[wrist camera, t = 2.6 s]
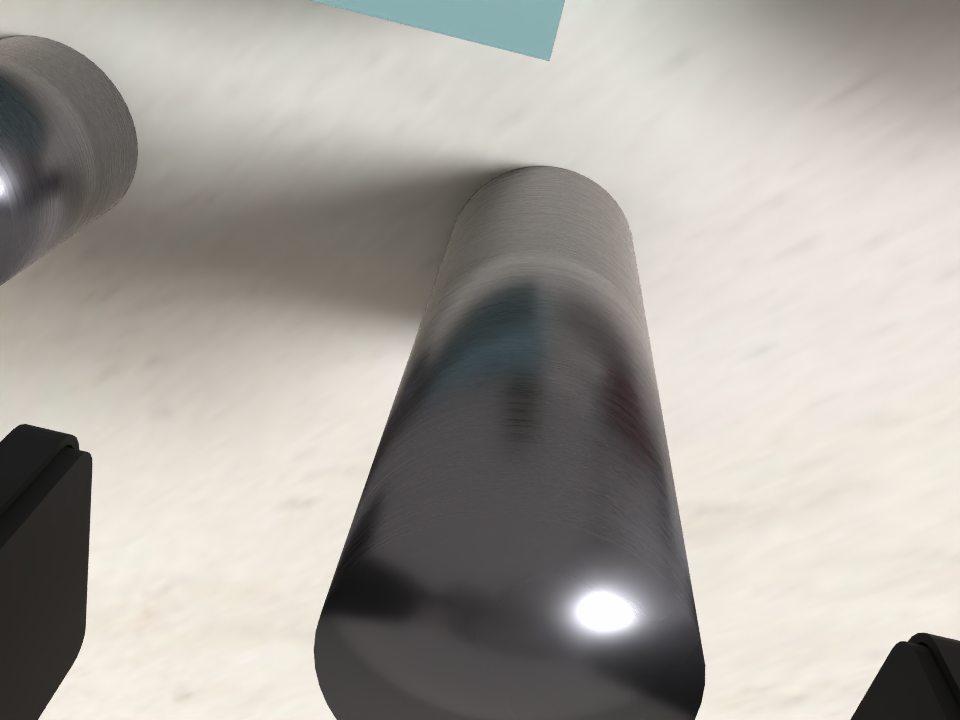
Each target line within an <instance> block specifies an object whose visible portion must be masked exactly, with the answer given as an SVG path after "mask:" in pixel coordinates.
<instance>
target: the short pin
mask: <svg viewBox="0 0 960 720" xmlns="http://www.w3.org/2000/svg"><path fill="white" fill-rule="evenodd" d="M137 156H138V149H137V137H136V131H135V127H134V124H133V120H132V117H131V115H130V112H129V110H128V107H127V105H126V103H125V101H124V100H123V98H122V96H121V94H120V93H119V91H118V90H117V88H116V87H115V85H114V84H113V83H112V81H111V80H110V79H109V78H108V77H107V76H106V74H105V73H104V72H103V71H102V70H101V69H100V68H99V67H97V66H96V65H95V64H94V63H93V62H92V61H90V60H89V59H88V58H86V57H85V56H84V55H82V54H81V53H79V52H77V51H76V50H74V49H72V48H71V47H68V46H66V45H64V44H62V43H60V42H57V41H54V40H50V39H47V38H42V37H37V36H13V37H7V38H4V39H0V286H1V285H2V284H3V283H5V282H6V281H8V280H9V279H11V278H12V277H13V276H15V275H16V274H18V273H19V272H21V271H22V270H23V269H25V268H26V267H28V266H29V265H31V264H32V263H34V262H35V261H36V260H38V259H39V258H41V257H42V256H44V255H45V254H46V253H48V252H49V251H51V250H52V249H54V248H55V247H56V246H58V245H59V244H61V243H62V242H64V241H65V240H67V239H68V238H69V237H71V236H72V235H74V234H75V233H77V232H78V231H79V230H81V229H82V228H84V227H85V226H87V225H88V224H90V223H91V222H92V221H94V220H95V219H97V218H98V217H100V216H101V215H102V214H104V213H105V212H107V211H108V210H110V209H111V208H112V207H113V206H114V205H116V204H117V203H118V202H119V201H120V199H121V198H122V197H123V196H124V195H125V193H126V191H127V190H128V188H129V187H130V184H131V182H132V180H133V177H134V174H135V170H136V165H137Z"/></svg>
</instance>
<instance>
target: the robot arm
mask: <svg viewBox="0 0 960 720" xmlns="http://www.w3.org/2000/svg"><path fill="white" fill-rule="evenodd" d="M91 484H92V457H91V454H90V453H88V452H85V451H81V450H79V443H78V440H77V438H76V437H75V436H73V435H70V434H66V433H62V432H57V431H53V430H49V429H44V428H40V427H36V426H32V425H27V424H22V425H19V426H17V427H16V428H15V429H13V430H12V431H11V432H10V433H9V434H8V435H7V436H6V437H5V438H4V439H3V440H2V441H1V442H0V720H38V719H39V717H40V715H41V714H42V712H43V711H44V709H45V708H46V706H47V704H48V703H49V701H50V700H51V698H52V697H53V695H54V693H55V692H56V690H57V689H58V687H59V685H60V684H61V682H62V681H63V679H64V678H65V676H66V674H67V673H68V671H69V670H70V668H71V667H72V665H73V663H74V661H75V660H76V658H77V656H78V653H79V651H80V649H81V646H82V643H83V639H84V635H85V628H86V605H87V581H88V556H89V532H90V508H91ZM851 720H960V641H958V640H954V639H949V638H945V637H941V636H936V635H932V634H928V633H917V634H916V635H914V636H912V637H911V638H910V640H909V641H908V642H906V641H901V642H899V643H897V644H896V645H895V646H894V647H893V649H892V650H891V652H890V654H889V655H888V657H887V659H886V660H885V662H884V664H883V665H882V667H881V669H880V670H879V672H878V674H877V676H876V677H875V679H874V681H873V682H872V684H871V686H870V687H869V689H868V691H867V693H866V694H865V696H864V698H863V699H862V701H861V703H860V704H859V706H858V708H857V710H856V711H855V713H854V715H853V716H852V718H851Z"/></svg>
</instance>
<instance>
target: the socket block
mask: <svg viewBox="0 0 960 720" xmlns="http://www.w3.org/2000/svg"><path fill="white" fill-rule="evenodd" d="M311 1H315V2H319V3H323V4H327V5H331V6H335V7H338V8H342V9H346V10H350V11H354V12H358V13H362V14H366V15H370V16H374V17H378V18H382V19H386V20H390V21H394V22H397V23H401V24H405V25H409V26H413V27H417V28H421V29H425V30H429V31H433V32H437V33H441V34H445V35H449V36H452V37H456V38H460V39H464V40H468V41H472V42H476V43H480V44H484V45H488V46H492V47H496V48H500V49H504V50H508V51H511V52H515V53H519V54H523V55H527V56H531V57H535V58H539V59H543V60H547V61H550V57H551V53H552V49H553V45H554V41H555V37H556V34H557V30H558V26H559V22H560V18H561V14H562V10H563V6H564V2H565V0H311Z"/></svg>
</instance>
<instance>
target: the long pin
mask: <svg viewBox="0 0 960 720" xmlns="http://www.w3.org/2000/svg"><path fill="white" fill-rule="evenodd" d="M314 658H315V669H316V673H317V677H318V681H319V685H320V688H321V691H322V693H323V695H324V698H325V700H326V702H327V705H328V706H329V708H330V710H331V711H332V713H333V714H334V716H335V718H336V719H337V720H695V718H696V715H697V713H698V710H699V708H700V705H701V702H702V697H703V691H704V686H705V662H704V656H703V650H702V644H701V638H700V633H699V627H698V621H697V615H696V609H695V603H694V597H693V592H692V586H691V580H690V574H689V568H688V562H687V557H686V551H685V545H684V539H683V533H682V527H681V521H680V516H679V510H678V504H677V498H676V492H675V486H674V480H673V475H672V469H671V463H670V457H669V451H668V445H667V440H666V434H665V428H664V422H663V416H662V410H661V404H660V399H659V393H658V387H657V381H656V375H655V369H654V363H653V358H652V352H651V346H650V340H649V334H648V328H647V323H646V317H645V311H644V305H643V299H642V293H641V287H640V282H639V276H638V270H637V264H636V258H635V252H634V246H633V241H632V235H631V231H630V228H629V225H628V222H627V220H626V218H625V216H624V214H623V212H622V210H621V209H620V207H619V206H618V204H617V203H616V201H615V200H614V199H613V198H612V197H611V196H610V195H609V193H608V192H606V191H605V190H604V189H603V188H602V187H601V186H599V185H598V184H596V183H595V182H593V181H592V180H590V179H589V178H587V177H585V176H583V175H580V174H578V173H576V172H573V171H569V170H566V169H562V168H556V167H546V166H537V167H526V168H521V169H517V170H513V171H511V172H508V173H505V174H503V175H501V176H499V177H497V178H495V179H493V180H491V181H490V182H488V183H487V184H485V185H484V186H482V187H481V188H480V189H479V190H478V191H477V192H476V193H475V194H474V195H473V196H472V197H471V198H470V199H469V201H468V202H467V203H466V204H465V206H464V208H463V209H462V211H461V212H460V214H459V216H458V219H457V221H456V223H455V226H454V228H453V231H452V234H451V237H450V240H449V243H448V246H447V249H446V252H445V255H444V258H443V260H442V263H441V266H440V269H439V272H438V275H437V278H436V281H435V284H434V287H433V289H432V292H431V295H430V298H429V301H428V304H427V307H426V310H425V313H424V316H423V319H422V321H421V324H420V327H419V330H418V333H417V336H416V339H415V342H414V345H413V348H412V350H411V353H410V356H409V359H408V362H407V365H406V368H405V371H404V374H403V377H402V380H401V382H400V385H399V388H398V391H397V394H396V397H395V400H394V403H393V406H392V409H391V411H390V414H389V417H388V420H387V423H386V426H385V429H384V432H383V435H382V438H381V441H380V443H379V446H378V449H377V452H376V455H375V458H374V461H373V464H372V467H371V470H370V472H369V475H368V478H367V481H366V484H365V487H364V490H363V493H362V496H361V499H360V502H359V504H358V507H357V510H356V513H355V516H354V519H353V522H352V525H351V528H350V531H349V533H348V536H347V539H346V542H345V545H344V548H343V551H342V554H341V557H340V560H339V563H338V565H337V568H336V571H335V574H334V577H333V580H332V583H331V586H330V589H329V592H328V594H327V597H326V600H325V603H324V606H323V609H322V612H321V615H320V619H319V622H318V626H317V629H316V634H315V644H314Z"/></svg>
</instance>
